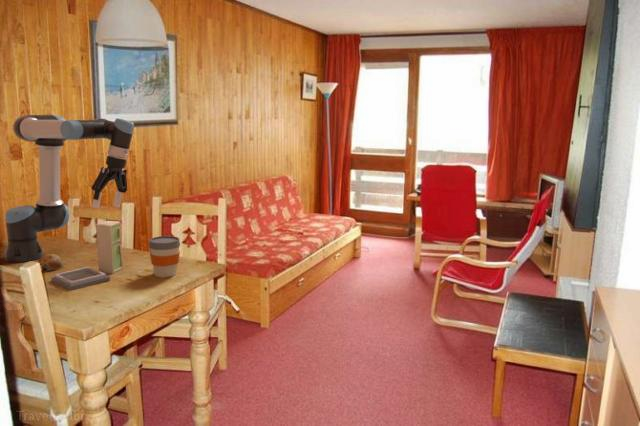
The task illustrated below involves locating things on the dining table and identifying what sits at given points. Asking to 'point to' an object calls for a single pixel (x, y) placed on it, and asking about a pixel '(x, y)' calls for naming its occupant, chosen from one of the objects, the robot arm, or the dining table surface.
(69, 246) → the dining table surface
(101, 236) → the toy refrigerator
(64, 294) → the dining table surface
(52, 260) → the bread roll
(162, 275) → the reusable coffee cup
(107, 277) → the base plate
